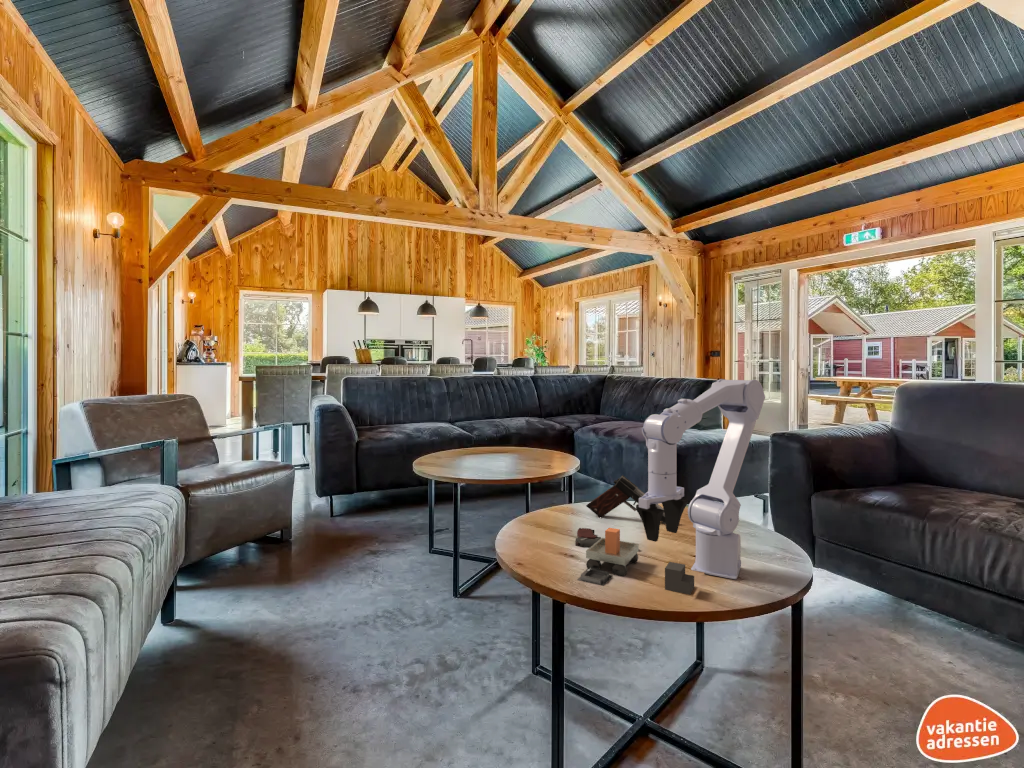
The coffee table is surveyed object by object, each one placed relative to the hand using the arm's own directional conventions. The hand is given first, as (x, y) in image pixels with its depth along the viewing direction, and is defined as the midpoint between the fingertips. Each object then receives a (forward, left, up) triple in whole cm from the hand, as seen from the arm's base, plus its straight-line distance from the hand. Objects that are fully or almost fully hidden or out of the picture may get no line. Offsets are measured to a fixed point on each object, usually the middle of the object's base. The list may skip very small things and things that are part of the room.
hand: (662, 535), depth 108 cm
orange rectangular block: (+12, -4, -7) cm, 14 cm away
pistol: (+20, -19, -11) cm, 29 cm away
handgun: (+20, -42, -11) cm, 48 cm away
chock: (-4, +1, -10) cm, 11 cm away
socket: (+13, +5, -10) cm, 17 cm away
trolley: (+12, -4, -10) cm, 16 cm away
